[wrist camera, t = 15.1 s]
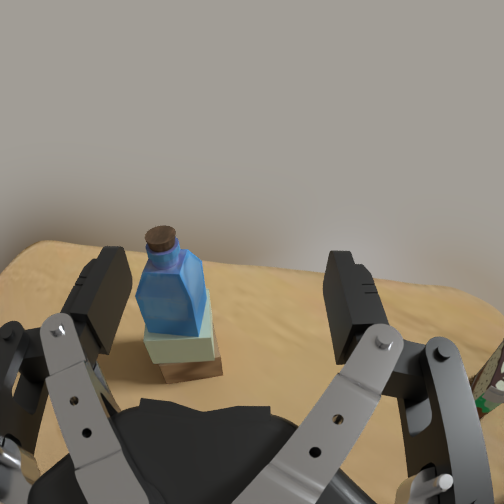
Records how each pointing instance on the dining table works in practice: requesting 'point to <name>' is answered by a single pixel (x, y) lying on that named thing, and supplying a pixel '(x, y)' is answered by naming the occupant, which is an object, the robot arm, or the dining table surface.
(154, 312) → the perfume bottle
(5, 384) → the robot arm
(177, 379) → the tower base block
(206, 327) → the tower top block
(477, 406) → the food container
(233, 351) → the dining table surface
